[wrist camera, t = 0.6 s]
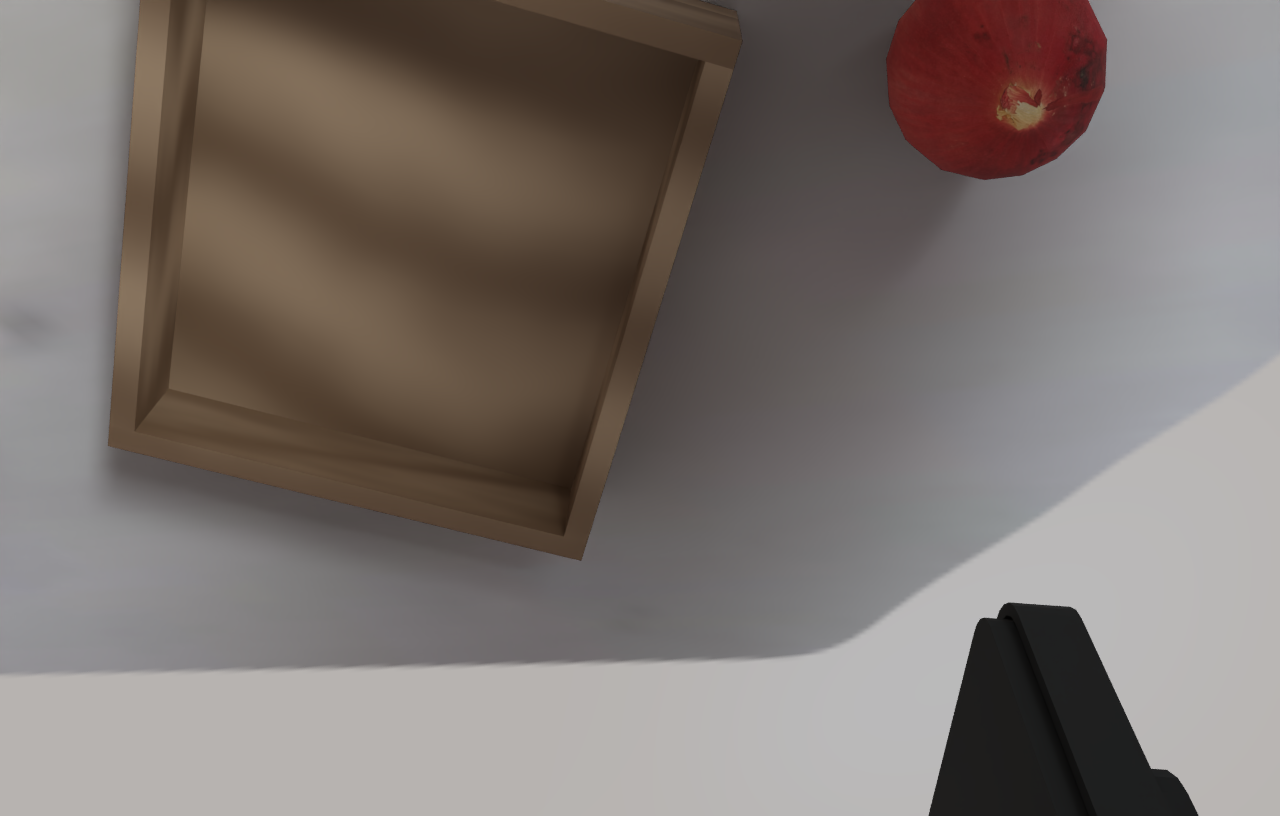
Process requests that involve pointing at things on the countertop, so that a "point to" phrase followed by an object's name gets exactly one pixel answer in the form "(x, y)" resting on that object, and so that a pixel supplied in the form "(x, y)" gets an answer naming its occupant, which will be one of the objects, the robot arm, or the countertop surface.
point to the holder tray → (408, 244)
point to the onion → (995, 81)
